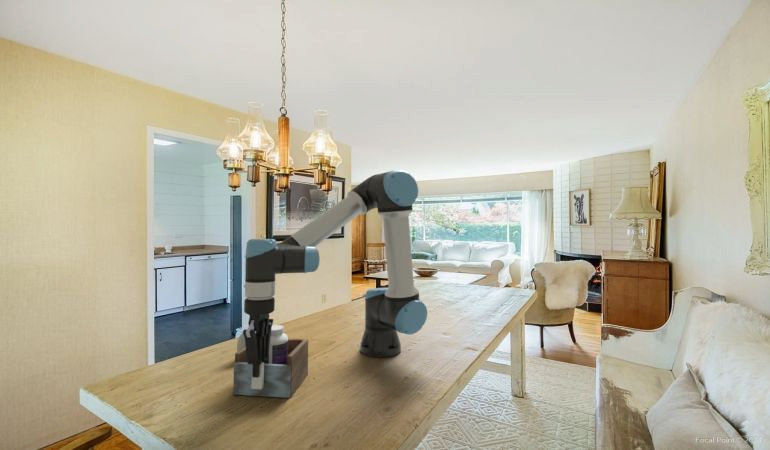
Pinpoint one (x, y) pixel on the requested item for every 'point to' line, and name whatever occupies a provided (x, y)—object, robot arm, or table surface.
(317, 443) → the table surface
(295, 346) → the wooden drawer box
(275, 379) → the grey drawer
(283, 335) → the pill bottle
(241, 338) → the donut
